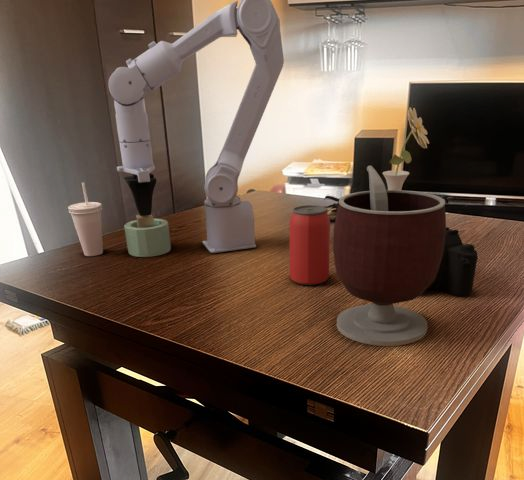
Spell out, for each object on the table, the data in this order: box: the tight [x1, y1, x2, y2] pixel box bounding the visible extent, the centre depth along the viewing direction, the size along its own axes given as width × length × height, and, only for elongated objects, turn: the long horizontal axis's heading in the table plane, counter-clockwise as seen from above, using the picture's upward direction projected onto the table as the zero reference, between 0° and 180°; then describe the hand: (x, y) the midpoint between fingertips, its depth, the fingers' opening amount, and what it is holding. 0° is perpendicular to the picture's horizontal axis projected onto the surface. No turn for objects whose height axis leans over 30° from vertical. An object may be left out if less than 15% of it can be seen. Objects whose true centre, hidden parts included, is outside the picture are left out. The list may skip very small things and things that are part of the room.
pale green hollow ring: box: [123, 218, 172, 258], centre depth 107 cm, size 9×9×6 cm
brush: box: [135, 214, 154, 228], centre depth 105 cm, size 3×3×9 cm
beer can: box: [289, 204, 331, 286], centre depth 88 cm, size 7×7×12 cm
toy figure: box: [322, 193, 341, 223], centre depth 124 cm, size 7×6×15 cm
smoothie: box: [67, 181, 104, 257], centre depth 105 cm, size 6×6×14 cm
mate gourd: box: [332, 165, 447, 347], centre depth 70 cm, size 16×14×20 cm
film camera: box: [427, 226, 479, 297], centre depth 84 cm, size 15×10×9 cm, turn 24°
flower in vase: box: [382, 106, 430, 190], centre depth 102 cm, size 13×11×25 cm
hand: (144, 214), depth 105 cm, fingers closed on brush
